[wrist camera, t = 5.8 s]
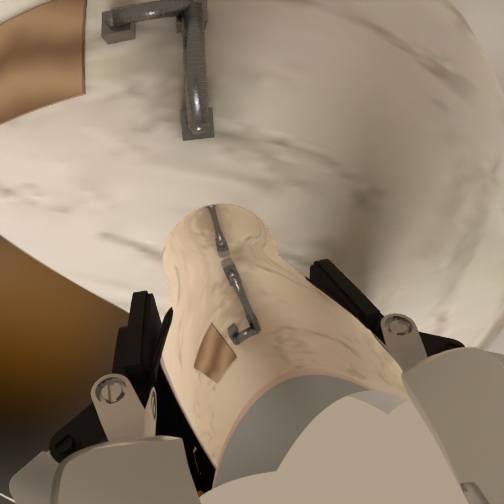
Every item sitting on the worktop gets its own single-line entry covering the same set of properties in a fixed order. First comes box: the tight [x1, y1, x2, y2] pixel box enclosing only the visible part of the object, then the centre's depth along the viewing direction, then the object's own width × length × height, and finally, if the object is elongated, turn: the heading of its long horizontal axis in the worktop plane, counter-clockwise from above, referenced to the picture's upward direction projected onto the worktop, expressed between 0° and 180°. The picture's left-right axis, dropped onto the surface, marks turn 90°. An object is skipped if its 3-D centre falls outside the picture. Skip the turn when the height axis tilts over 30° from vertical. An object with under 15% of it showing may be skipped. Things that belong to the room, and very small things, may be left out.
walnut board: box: [0, 0, 87, 125], centre depth 15 cm, size 11×11×1 cm
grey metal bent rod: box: [101, 0, 214, 141], centre depth 18 cm, size 12×8×4 cm
